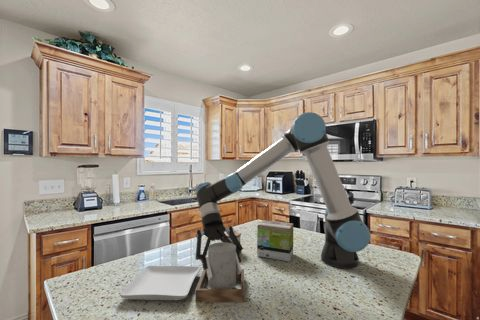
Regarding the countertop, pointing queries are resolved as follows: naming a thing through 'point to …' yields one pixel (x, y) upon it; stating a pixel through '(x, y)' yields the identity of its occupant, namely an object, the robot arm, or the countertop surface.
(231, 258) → the grey speckled cylinder
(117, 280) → the countertop surface
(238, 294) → the collar
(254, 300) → the countertop surface
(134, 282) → the salad plate
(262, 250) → the tea box
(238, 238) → the teacup with lid
